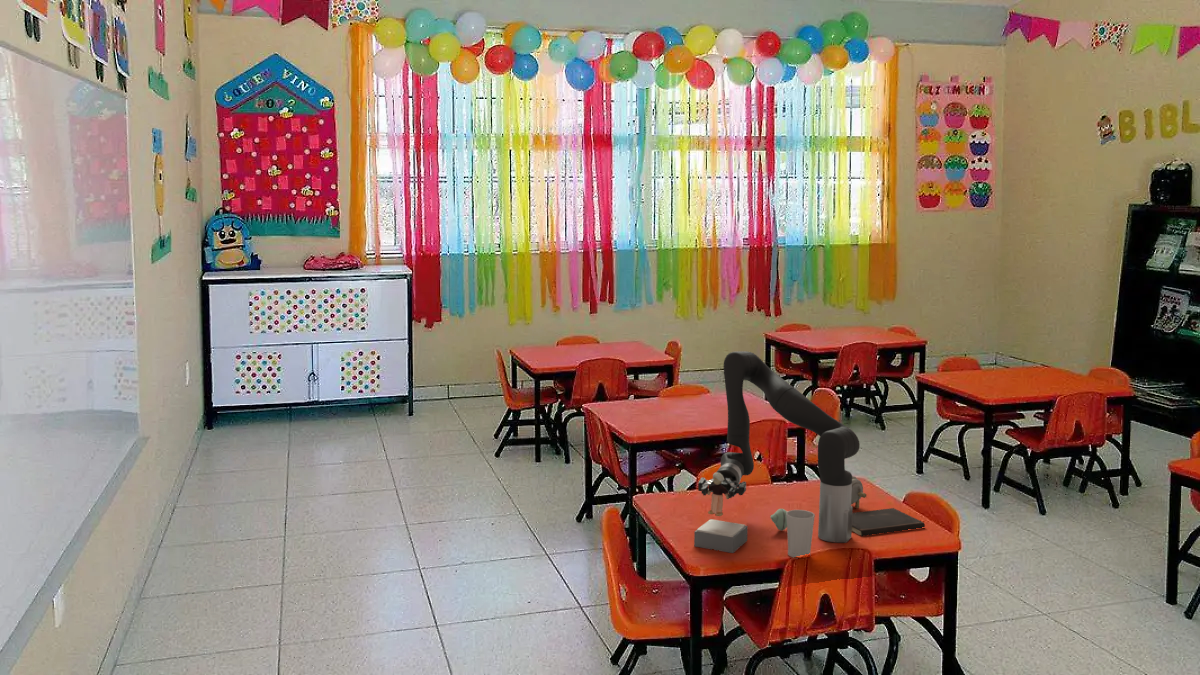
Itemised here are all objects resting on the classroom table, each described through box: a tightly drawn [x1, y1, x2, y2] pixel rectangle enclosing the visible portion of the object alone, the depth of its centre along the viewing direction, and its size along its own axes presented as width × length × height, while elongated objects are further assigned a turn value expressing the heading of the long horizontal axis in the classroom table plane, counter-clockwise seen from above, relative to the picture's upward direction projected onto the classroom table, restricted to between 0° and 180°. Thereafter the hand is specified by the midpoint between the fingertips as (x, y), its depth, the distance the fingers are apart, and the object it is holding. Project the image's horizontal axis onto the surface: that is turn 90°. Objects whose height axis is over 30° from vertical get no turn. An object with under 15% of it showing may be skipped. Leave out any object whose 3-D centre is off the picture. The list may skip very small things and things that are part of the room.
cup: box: [786, 509, 816, 558], centre depth 298 cm, size 8×8×12 cm
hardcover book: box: [852, 507, 926, 537], centre depth 326 cm, size 16×23×2 cm
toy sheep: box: [851, 475, 867, 509], centre depth 343 cm, size 11×17×11 cm, turn 39°
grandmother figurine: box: [706, 471, 730, 517], centre depth 306 cm, size 8×4×13 cm, turn 61°
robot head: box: [770, 508, 788, 531], centre depth 319 cm, size 8×4×7 cm, turn 104°
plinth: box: [693, 518, 748, 554], centre depth 307 cm, size 12×12×5 cm
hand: (717, 493), depth 304 cm, fingers closed on grandmother figurine, 7 cm apart
